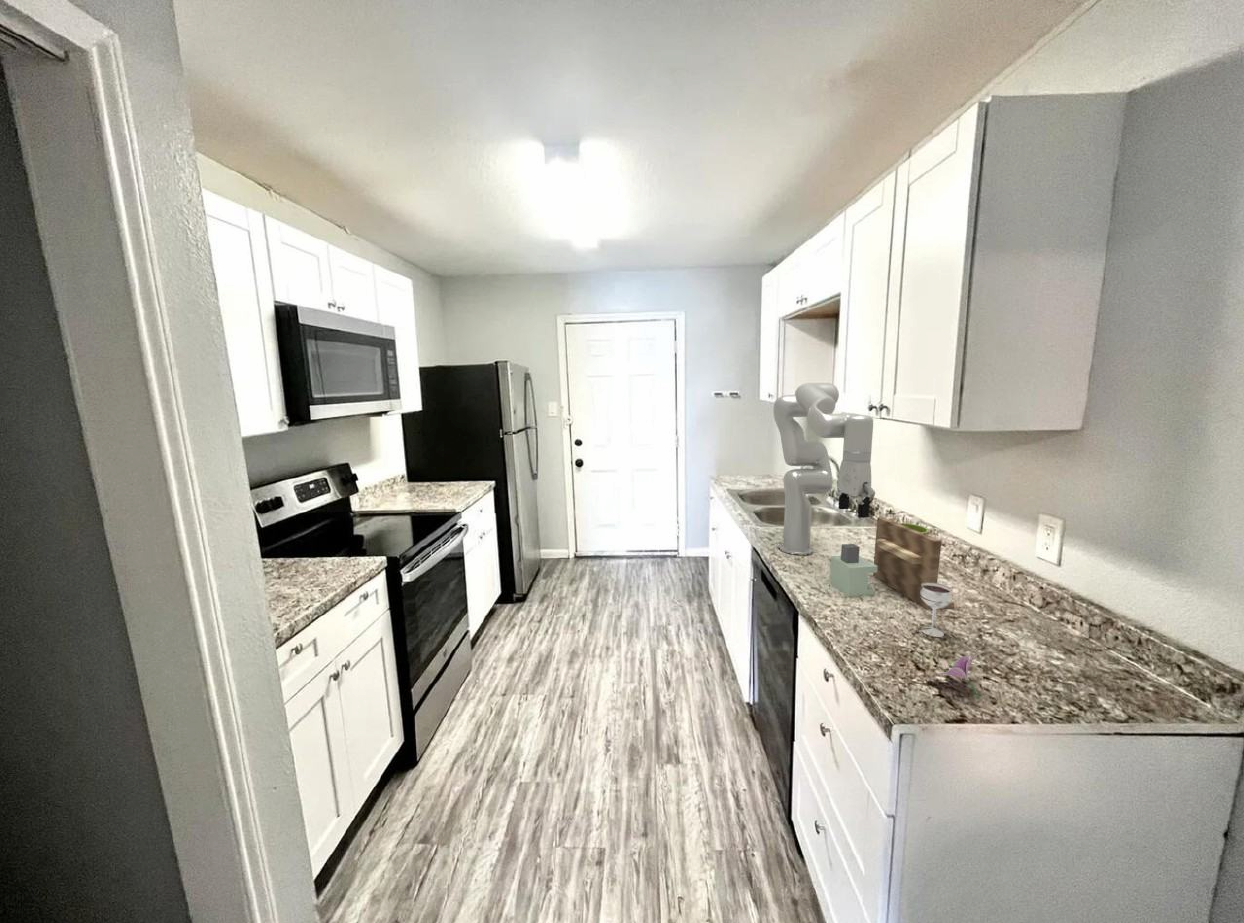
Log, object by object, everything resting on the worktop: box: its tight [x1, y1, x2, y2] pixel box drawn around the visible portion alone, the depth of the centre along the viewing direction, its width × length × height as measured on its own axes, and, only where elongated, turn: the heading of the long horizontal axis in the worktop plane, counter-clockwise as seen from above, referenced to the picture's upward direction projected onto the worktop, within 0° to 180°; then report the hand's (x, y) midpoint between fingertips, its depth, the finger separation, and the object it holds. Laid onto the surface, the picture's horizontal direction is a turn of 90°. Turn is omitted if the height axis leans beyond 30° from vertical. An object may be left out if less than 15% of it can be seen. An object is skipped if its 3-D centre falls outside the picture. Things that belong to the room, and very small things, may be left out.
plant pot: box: [897, 522, 929, 535], centre depth 170 cm, size 12×12×11 cm
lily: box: [926, 650, 985, 699], centre depth 96 cm, size 12×12×10 cm
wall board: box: [872, 516, 955, 610], centre depth 142 cm, size 24×10×20 cm, turn 7°
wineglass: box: [920, 582, 953, 638], centre depth 118 cm, size 7×7×12 cm
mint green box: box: [829, 543, 878, 597], centre depth 144 cm, size 10×9×14 cm
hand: (853, 513), depth 141 cm, fingers open, 9 cm apart
